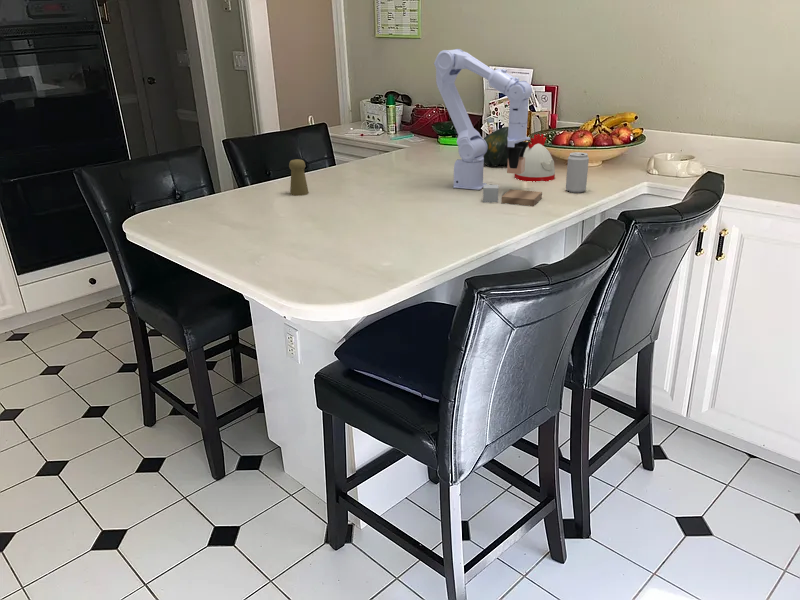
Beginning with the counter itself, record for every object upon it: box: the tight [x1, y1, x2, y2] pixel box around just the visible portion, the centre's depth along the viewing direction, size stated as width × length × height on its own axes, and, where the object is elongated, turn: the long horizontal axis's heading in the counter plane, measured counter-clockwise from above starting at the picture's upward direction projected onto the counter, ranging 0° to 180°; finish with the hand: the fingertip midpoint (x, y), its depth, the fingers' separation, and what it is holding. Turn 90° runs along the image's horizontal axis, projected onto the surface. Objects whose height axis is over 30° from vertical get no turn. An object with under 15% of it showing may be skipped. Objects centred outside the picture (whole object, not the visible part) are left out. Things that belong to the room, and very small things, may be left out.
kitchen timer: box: [514, 133, 556, 183], centre depth 227 cm, size 14×14×15 cm
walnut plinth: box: [500, 188, 543, 207], centre depth 200 cm, size 10×10×2 cm
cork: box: [288, 158, 310, 197], centre depth 212 cm, size 6×6×11 cm
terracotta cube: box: [506, 157, 525, 175], centre depth 208 cm, size 4×4×4 cm
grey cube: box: [482, 184, 499, 203], centre depth 201 cm, size 4×4×4 cm
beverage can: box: [565, 151, 590, 194], centre depth 208 cm, size 6×6×12 cm
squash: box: [483, 126, 508, 167], centre depth 248 cm, size 14×15×15 cm
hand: (515, 166), depth 208 cm, fingers closed on terracotta cube, 4 cm apart
